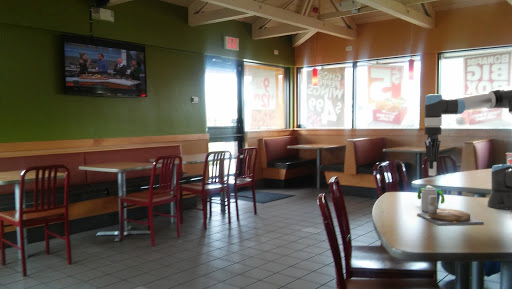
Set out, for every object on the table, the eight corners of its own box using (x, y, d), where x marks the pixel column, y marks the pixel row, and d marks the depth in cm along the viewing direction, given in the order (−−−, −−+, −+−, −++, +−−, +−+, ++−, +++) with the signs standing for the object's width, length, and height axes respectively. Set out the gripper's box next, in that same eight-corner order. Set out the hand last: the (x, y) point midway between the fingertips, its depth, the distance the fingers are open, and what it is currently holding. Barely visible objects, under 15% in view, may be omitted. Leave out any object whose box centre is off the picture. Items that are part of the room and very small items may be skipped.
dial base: (457, 214, 210) (457, 211, 210) (483, 224, 190) (483, 221, 189) (417, 215, 209) (417, 212, 209) (439, 225, 188) (439, 222, 188)
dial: (456, 212, 209) (456, 192, 208) (478, 220, 191) (478, 198, 190) (419, 213, 207) (420, 193, 207) (438, 221, 189) (439, 199, 189)
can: (438, 213, 214) (438, 189, 213) (422, 212, 215) (422, 189, 215) (435, 210, 221) (435, 187, 220) (420, 209, 222) (420, 187, 222)
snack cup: (449, 209, 223) (449, 190, 223) (434, 210, 219) (434, 191, 219) (427, 204, 238) (427, 186, 237) (412, 205, 234) (412, 187, 233)
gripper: (431, 126, 210) (430, 173, 211) (419, 126, 200) (418, 176, 202) (446, 126, 205) (446, 174, 206) (434, 126, 195) (434, 177, 196)
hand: (432, 175), depth 204 cm, fingers closed
